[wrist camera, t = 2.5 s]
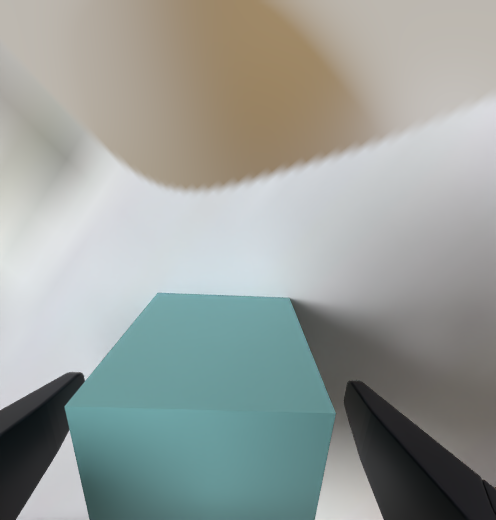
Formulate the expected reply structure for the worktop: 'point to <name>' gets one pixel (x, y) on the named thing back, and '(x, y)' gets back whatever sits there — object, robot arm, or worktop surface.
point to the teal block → (204, 415)
